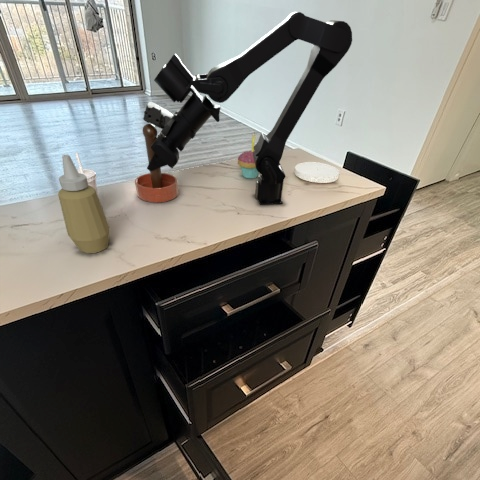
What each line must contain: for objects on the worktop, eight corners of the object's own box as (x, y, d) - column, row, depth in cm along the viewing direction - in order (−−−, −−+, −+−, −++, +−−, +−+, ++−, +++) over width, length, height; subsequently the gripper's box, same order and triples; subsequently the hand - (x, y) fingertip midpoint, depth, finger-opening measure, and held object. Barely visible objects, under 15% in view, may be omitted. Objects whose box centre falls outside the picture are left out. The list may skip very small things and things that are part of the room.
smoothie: (97, 222, 75) (79, 159, 65) (72, 218, 76) (51, 155, 66) (111, 210, 79) (95, 149, 70) (87, 207, 80) (69, 146, 70)
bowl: (177, 186, 92) (175, 172, 89) (179, 202, 85) (178, 187, 82) (138, 187, 90) (135, 173, 87) (137, 204, 83) (134, 189, 80)
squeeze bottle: (79, 236, 70) (49, 147, 57) (117, 236, 71) (95, 149, 58) (68, 257, 64) (32, 163, 52) (109, 257, 65) (83, 164, 52)
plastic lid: (312, 189, 96) (314, 180, 94) (285, 173, 104) (286, 165, 102) (346, 182, 101) (348, 173, 99) (318, 167, 109) (319, 159, 108)
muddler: (169, 193, 87) (161, 123, 75) (159, 198, 84) (149, 127, 73) (157, 189, 88) (148, 120, 76) (148, 194, 86) (136, 124, 74)
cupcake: (239, 169, 104) (241, 128, 96) (264, 172, 104) (269, 131, 95) (235, 179, 98) (237, 136, 90) (262, 182, 98) (266, 139, 89)
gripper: (168, 81, 76) (131, 131, 84) (154, 96, 63) (111, 154, 70) (202, 120, 82) (165, 164, 90) (195, 142, 69) (152, 191, 76)
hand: (149, 167), depth 81 cm, fingers closed on muddler, 3 cm apart
